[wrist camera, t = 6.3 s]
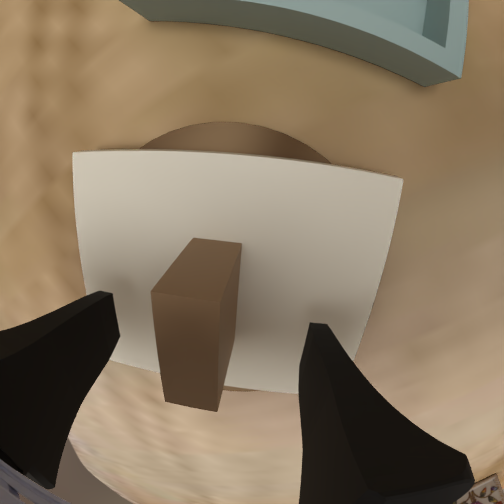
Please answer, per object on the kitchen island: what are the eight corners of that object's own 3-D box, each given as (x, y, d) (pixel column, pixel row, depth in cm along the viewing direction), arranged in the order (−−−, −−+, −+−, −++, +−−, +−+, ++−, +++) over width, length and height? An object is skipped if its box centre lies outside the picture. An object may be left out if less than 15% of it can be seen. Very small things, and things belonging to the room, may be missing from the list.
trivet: (421, 180, 11) (425, 182, 11) (313, 404, 16) (313, 409, 16) (108, 101, 11) (103, 100, 11) (97, 343, 16) (94, 347, 16)
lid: (388, 172, 11) (462, 208, 6) (335, 374, 15) (347, 461, 10) (93, 148, 12) (0, 169, 6) (114, 340, 16) (67, 408, 10)
